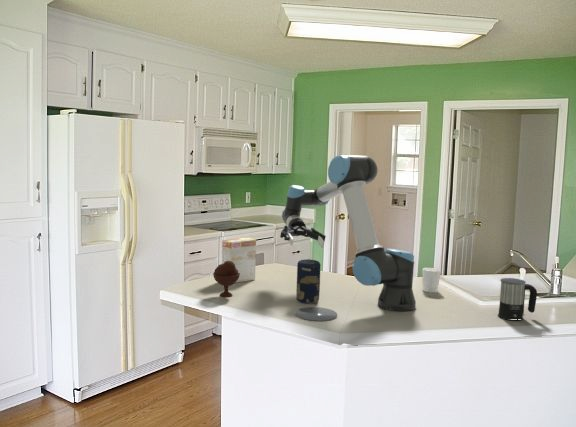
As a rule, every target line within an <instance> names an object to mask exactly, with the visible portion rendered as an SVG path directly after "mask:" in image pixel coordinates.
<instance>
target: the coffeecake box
mask: <svg viewBox="0 0 576 427" xmlns="http://www.w3.org/2000/svg"><path fill="white" fill-rule="evenodd" d="M221 242H222V243H221V244H222V245H221V264H223V263H224V262H225V261H232V262H233V263H234V264H235V267H236V269H237V270H238V273H240V275H239V278H238V280H237V281H236V282H235V283H234V284H236V283H242V282H248V281H255V280H256V264H257V263H256V261H257V258H256V257H257V239H255V238H252V237H241V238H239V237H238V238H231V239H230V238H229V239H222V240H221Z"/></svg>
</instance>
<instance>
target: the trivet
mask: <svg viewBox="0 0 576 427" xmlns="http://www.w3.org/2000/svg"><path fill="white" fill-rule="evenodd" d="M294 315H295V316H296V317H297V318H299V319H301V320H305V321H310V322H328V321H332V320H335V319H337V317H338V313H337V312H336V311H335V310H333V309H329V308H327V307H326V308H325V307H319V306H307V307H301V308H298V309H296V310H295V312H294Z"/></svg>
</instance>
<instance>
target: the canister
mask: <svg viewBox="0 0 576 427" xmlns="http://www.w3.org/2000/svg"><path fill="white" fill-rule="evenodd" d="M296 266H297V268H296V269H297V270H296V292H295V293H296V294H295V295H296V296H295V298H296V301H297V302H298V303H301V304H315V303H318V302H319V300H320V292H321V291H320V290H321V288H320V287H321V263H320V261H318V260H315V259H309V258H308V259H300V260H298V262H297V265H296Z"/></svg>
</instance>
